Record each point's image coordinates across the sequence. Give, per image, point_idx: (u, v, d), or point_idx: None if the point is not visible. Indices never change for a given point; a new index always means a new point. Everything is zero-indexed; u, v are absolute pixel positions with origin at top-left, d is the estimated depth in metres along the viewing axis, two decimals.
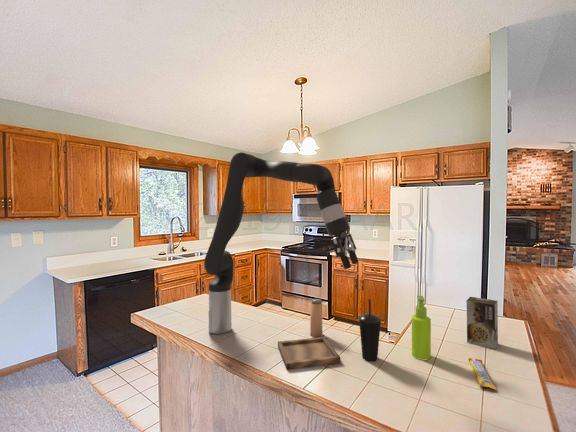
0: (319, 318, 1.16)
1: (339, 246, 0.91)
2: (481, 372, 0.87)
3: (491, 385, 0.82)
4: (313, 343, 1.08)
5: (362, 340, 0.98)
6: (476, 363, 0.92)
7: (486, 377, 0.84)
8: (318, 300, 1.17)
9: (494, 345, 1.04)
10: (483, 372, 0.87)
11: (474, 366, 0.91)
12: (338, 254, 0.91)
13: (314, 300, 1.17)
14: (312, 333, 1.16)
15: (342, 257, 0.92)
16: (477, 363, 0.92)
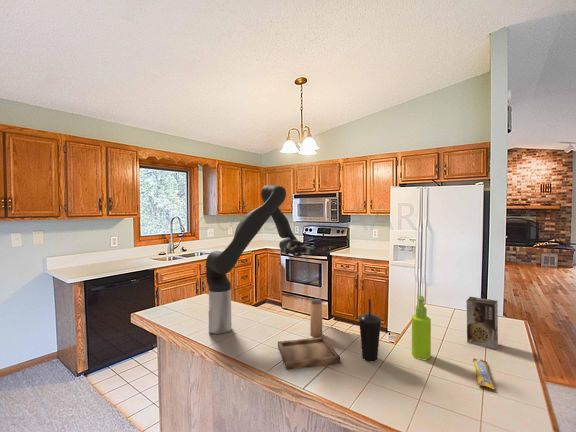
0: (319, 318, 1.16)
1: None
2: (482, 372, 0.87)
3: (490, 385, 0.82)
4: (313, 343, 1.08)
5: (362, 340, 0.98)
6: (479, 364, 0.92)
7: (486, 377, 0.84)
8: (318, 300, 1.17)
9: (494, 345, 1.04)
10: (485, 372, 0.87)
11: (477, 366, 0.91)
12: None
13: (314, 300, 1.17)
14: (312, 333, 1.16)
15: None
16: (481, 363, 0.92)
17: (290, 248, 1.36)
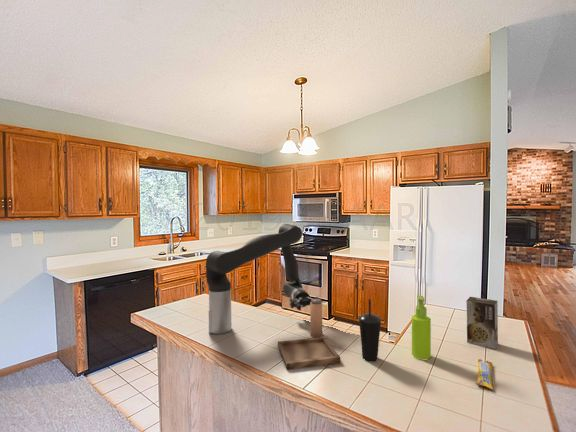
0: (319, 318, 1.16)
1: None
2: (484, 373, 0.87)
3: (489, 385, 0.82)
4: (313, 343, 1.08)
5: (362, 340, 0.98)
6: (483, 364, 0.91)
7: (487, 377, 0.84)
8: (318, 300, 1.17)
9: (494, 345, 1.04)
10: (486, 372, 0.87)
11: (480, 367, 0.91)
12: None
13: (314, 300, 1.17)
14: (312, 333, 1.16)
15: None
16: (484, 364, 0.92)
17: (295, 300, 1.35)
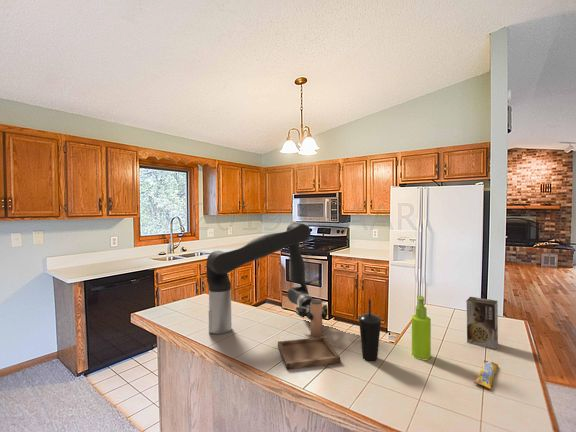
0: (319, 318, 1.16)
1: None
2: (485, 373, 0.87)
3: (488, 384, 0.82)
4: (313, 343, 1.08)
5: (362, 340, 0.98)
6: (487, 365, 0.91)
7: (487, 377, 0.84)
8: (318, 300, 1.17)
9: (494, 345, 1.04)
10: (488, 373, 0.87)
11: (483, 367, 0.90)
12: None
13: (314, 300, 1.17)
14: (312, 333, 1.16)
15: (324, 313, 1.20)
16: (489, 365, 0.91)
17: (302, 308, 1.24)
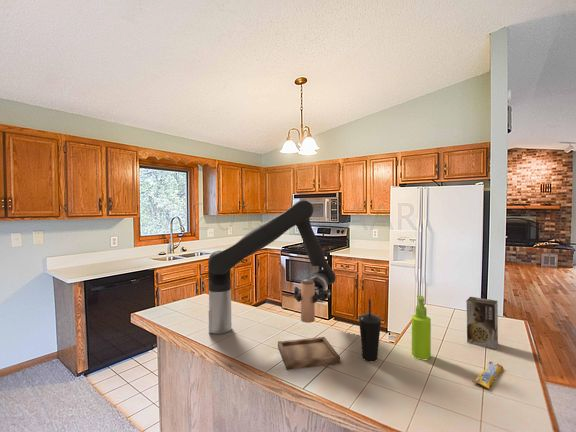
0: (307, 301, 1.00)
1: (327, 297, 1.04)
2: (487, 373, 0.87)
3: (487, 384, 0.82)
4: (313, 343, 1.08)
5: (362, 340, 0.98)
6: (491, 366, 0.90)
7: (487, 377, 0.84)
8: (309, 280, 1.01)
9: (494, 345, 1.04)
10: (489, 373, 0.86)
11: (487, 368, 0.90)
12: (324, 295, 1.02)
13: (305, 280, 1.02)
14: (301, 317, 1.01)
15: (319, 296, 1.02)
16: (493, 366, 0.90)
17: None
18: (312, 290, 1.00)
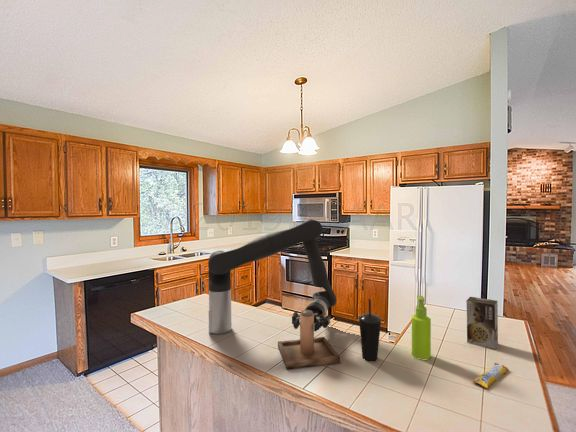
0: (307, 333, 0.99)
1: (328, 324, 1.04)
2: (488, 373, 0.86)
3: (485, 384, 0.82)
4: None
5: (362, 340, 0.98)
6: (495, 368, 0.90)
7: (487, 377, 0.84)
8: (308, 312, 1.01)
9: (494, 345, 1.04)
10: (491, 374, 0.86)
11: (490, 369, 0.90)
12: (326, 322, 1.02)
13: (304, 311, 1.02)
14: (300, 348, 1.01)
15: (320, 324, 1.01)
16: (497, 367, 0.90)
17: None
18: (311, 322, 1.00)
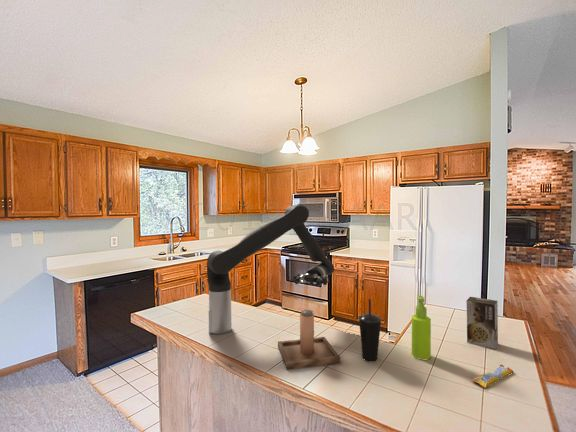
0: (307, 333, 0.99)
1: (327, 282, 1.21)
2: (490, 374, 0.86)
3: (484, 383, 0.82)
4: None
5: (362, 340, 0.98)
6: (499, 369, 0.89)
7: (488, 377, 0.84)
8: (308, 312, 1.01)
9: (494, 345, 1.04)
10: (492, 374, 0.86)
11: (493, 370, 0.89)
12: (326, 280, 1.19)
13: (304, 311, 1.02)
14: (300, 348, 1.01)
15: (321, 281, 1.18)
16: (500, 369, 0.89)
17: None
18: (311, 322, 1.00)
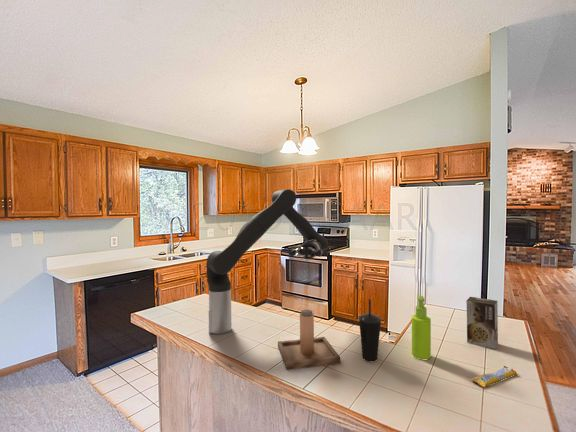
0: (306, 333, 0.99)
1: (321, 254, 1.25)
2: (490, 374, 0.86)
3: (484, 383, 0.83)
4: None
5: (362, 340, 0.98)
6: (501, 370, 0.88)
7: (488, 377, 0.84)
8: (308, 312, 1.01)
9: (494, 345, 1.04)
10: (493, 375, 0.86)
11: None
12: (320, 252, 1.23)
13: (304, 311, 1.02)
14: (300, 348, 1.01)
15: (316, 253, 1.23)
16: (503, 370, 0.88)
17: None
18: (311, 322, 1.00)
